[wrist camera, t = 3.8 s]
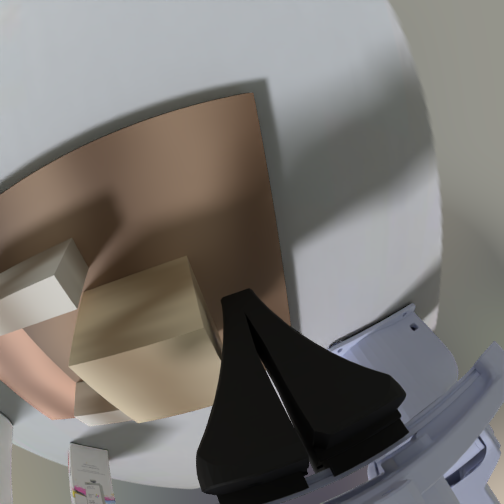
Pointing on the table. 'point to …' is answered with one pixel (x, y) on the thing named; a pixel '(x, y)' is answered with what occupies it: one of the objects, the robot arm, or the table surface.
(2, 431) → the can
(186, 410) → the maple block
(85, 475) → the ink cartridge box
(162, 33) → the table surface
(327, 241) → the table surface
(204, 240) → the board
